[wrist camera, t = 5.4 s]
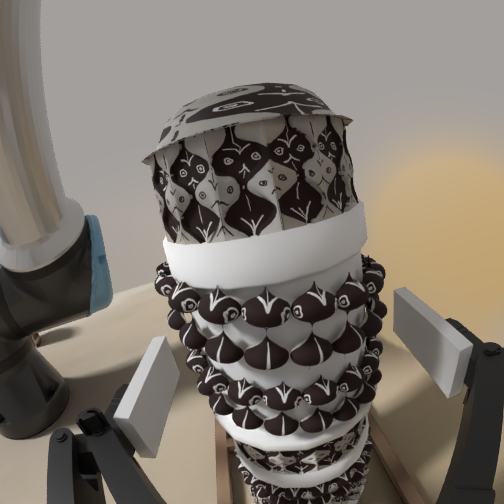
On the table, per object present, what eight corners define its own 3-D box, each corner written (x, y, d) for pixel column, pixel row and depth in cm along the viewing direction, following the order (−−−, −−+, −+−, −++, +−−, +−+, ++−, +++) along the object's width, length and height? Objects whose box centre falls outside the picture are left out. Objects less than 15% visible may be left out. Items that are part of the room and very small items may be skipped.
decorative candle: (233, 473, 19) (120, 148, 13) (326, 428, 22) (282, 120, 16) (282, 553, 11) (108, 72, 5) (392, 487, 14) (404, 72, 8)
